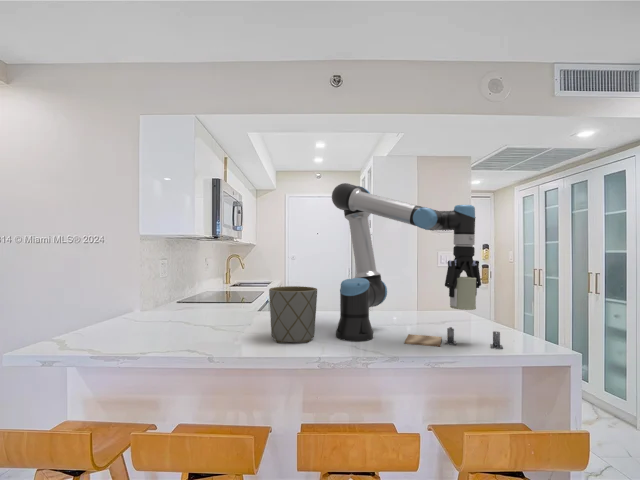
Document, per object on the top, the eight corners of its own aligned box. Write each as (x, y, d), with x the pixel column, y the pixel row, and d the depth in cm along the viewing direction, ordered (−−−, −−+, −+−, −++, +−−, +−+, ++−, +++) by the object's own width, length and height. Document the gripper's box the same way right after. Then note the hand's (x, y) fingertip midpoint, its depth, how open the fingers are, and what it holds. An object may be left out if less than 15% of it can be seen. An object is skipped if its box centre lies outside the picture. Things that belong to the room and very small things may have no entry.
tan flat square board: (404, 343, 147) (404, 341, 147) (408, 336, 159) (408, 334, 159) (440, 346, 143) (440, 344, 143) (441, 338, 155) (441, 336, 155)
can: (465, 310, 140) (466, 277, 140) (444, 307, 148) (445, 275, 148) (481, 308, 145) (481, 276, 145) (460, 305, 153) (460, 274, 153)
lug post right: (491, 349, 140) (491, 333, 140) (490, 345, 145) (490, 330, 145) (503, 350, 138) (503, 334, 139) (501, 346, 143) (501, 331, 143)
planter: (318, 344, 145) (318, 291, 145) (267, 345, 143) (267, 291, 144) (315, 333, 164) (315, 286, 164) (270, 333, 162) (270, 286, 163)
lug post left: (444, 344, 146) (444, 329, 146) (445, 341, 151) (445, 326, 151) (456, 345, 145) (456, 330, 145) (456, 341, 150) (456, 327, 150)
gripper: (449, 245, 139) (448, 308, 138) (492, 246, 148) (491, 305, 148) (435, 245, 145) (433, 305, 145) (476, 246, 155) (475, 302, 155)
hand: (462, 305), depth 146 cm, fingers closed on can, 9 cm apart
